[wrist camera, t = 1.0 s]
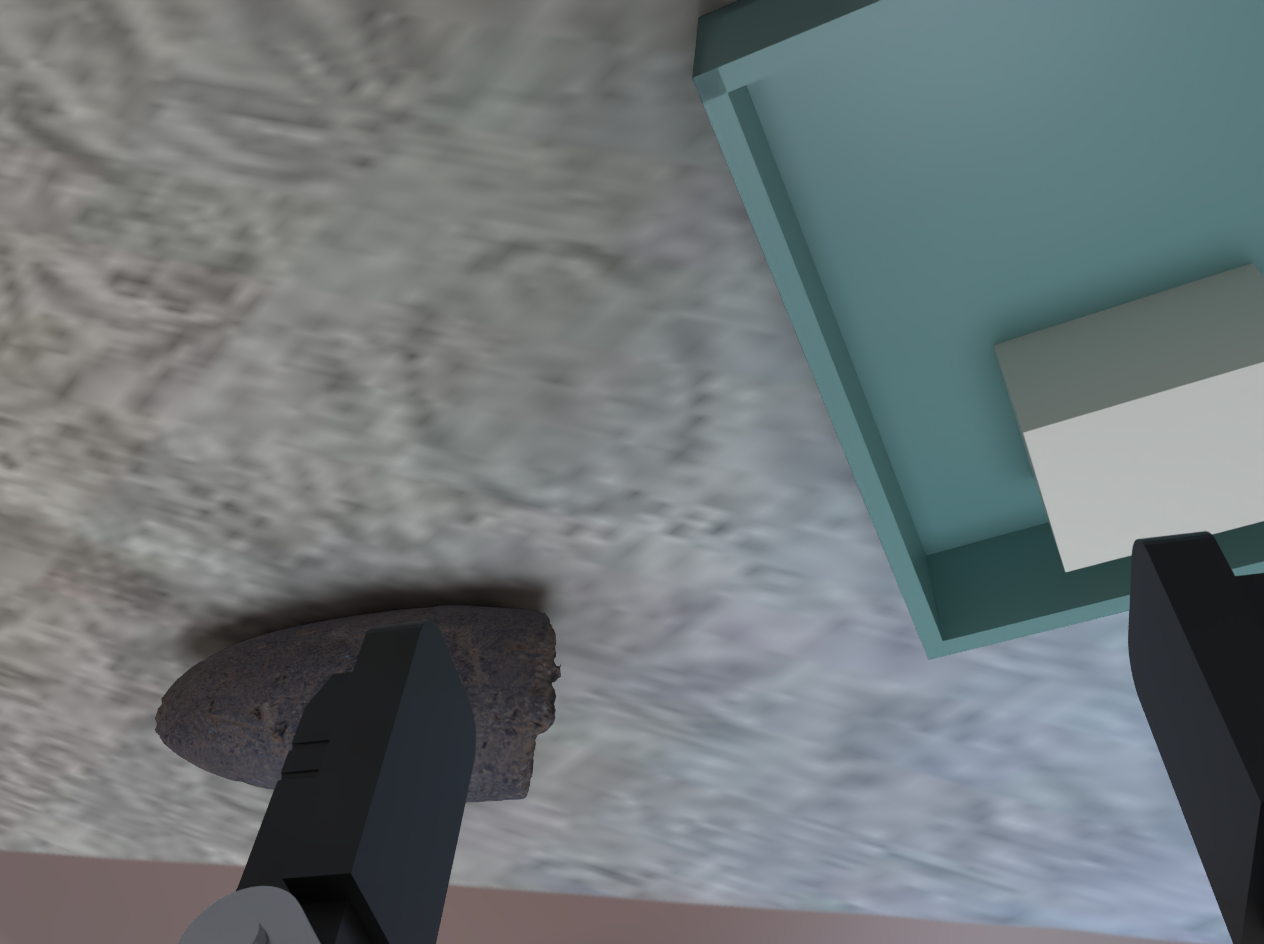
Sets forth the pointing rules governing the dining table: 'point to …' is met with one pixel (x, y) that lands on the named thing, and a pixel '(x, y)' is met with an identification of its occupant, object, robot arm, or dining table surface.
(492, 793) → the perforated stone tool
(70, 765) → the dining table surface
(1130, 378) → the white box
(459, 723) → the robot arm
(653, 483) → the dining table surface
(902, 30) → the tote
